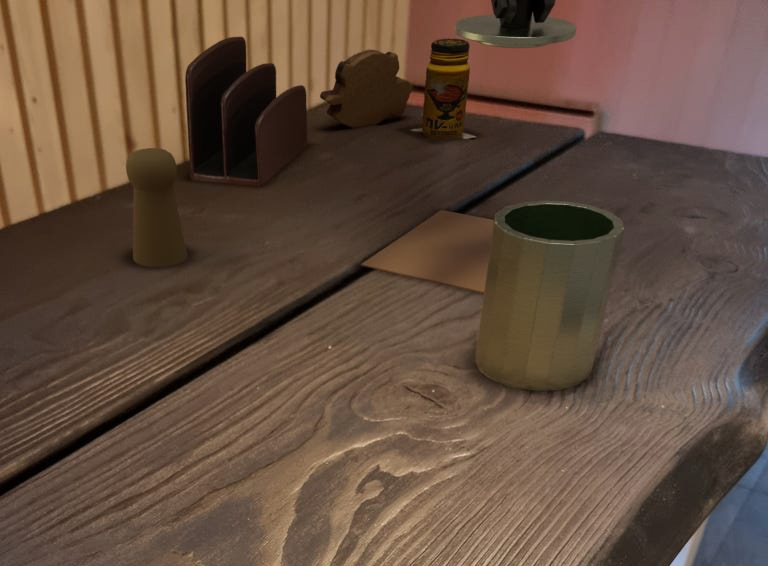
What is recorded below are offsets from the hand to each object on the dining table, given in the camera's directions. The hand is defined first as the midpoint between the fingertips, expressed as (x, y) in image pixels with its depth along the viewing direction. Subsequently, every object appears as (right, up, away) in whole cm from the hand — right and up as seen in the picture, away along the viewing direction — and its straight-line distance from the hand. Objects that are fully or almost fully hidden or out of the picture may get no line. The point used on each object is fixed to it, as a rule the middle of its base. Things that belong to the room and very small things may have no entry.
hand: (526, 16), depth 84 cm
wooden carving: (-10, +21, +56) cm, 61 cm away
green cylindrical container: (0, -33, -2) cm, 33 cm away
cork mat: (0, -15, +17) cm, 23 cm away
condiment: (0, +17, +52) cm, 55 cm away
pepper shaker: (-36, -15, +17) cm, 43 cm away
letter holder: (-27, +8, +42) cm, 51 cm away
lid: (-1, 0, +2) cm, 3 cm away
